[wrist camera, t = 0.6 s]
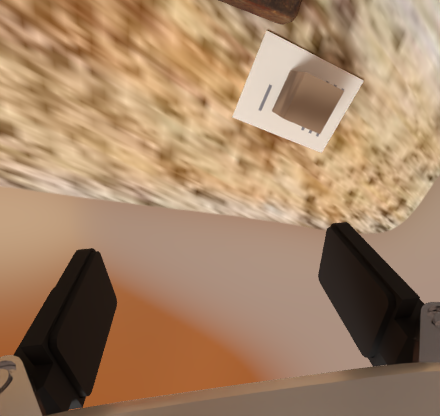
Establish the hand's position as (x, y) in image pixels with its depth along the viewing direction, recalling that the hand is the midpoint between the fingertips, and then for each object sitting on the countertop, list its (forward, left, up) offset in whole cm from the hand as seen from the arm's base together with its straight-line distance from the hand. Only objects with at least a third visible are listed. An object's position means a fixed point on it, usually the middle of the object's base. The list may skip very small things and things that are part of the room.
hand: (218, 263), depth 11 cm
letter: (-7, +11, -27) cm, 30 cm away
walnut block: (-7, +11, -26) cm, 29 cm away
